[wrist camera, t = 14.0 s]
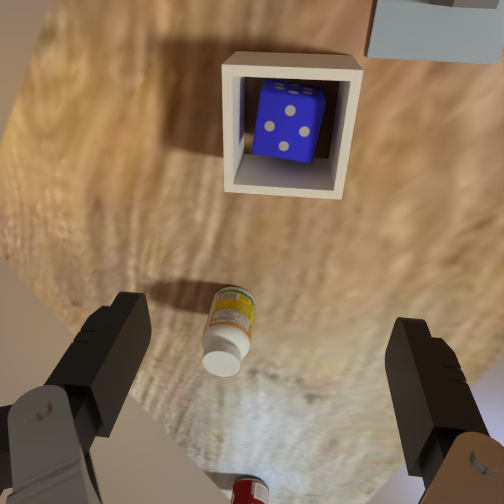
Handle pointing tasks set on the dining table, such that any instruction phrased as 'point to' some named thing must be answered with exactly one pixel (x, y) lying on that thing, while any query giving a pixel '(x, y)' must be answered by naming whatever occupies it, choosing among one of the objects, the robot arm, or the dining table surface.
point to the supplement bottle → (228, 331)
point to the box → (276, 169)
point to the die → (288, 120)
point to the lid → (438, 30)
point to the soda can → (249, 491)
